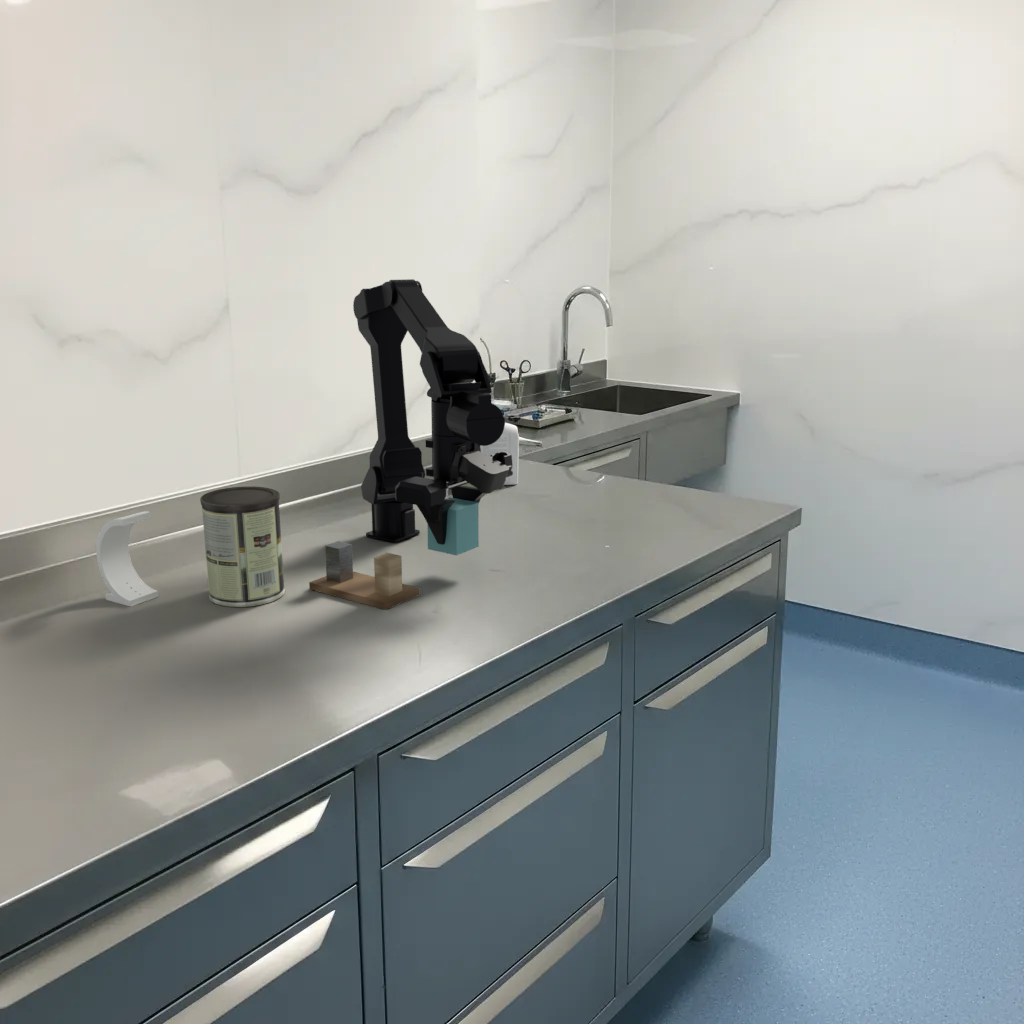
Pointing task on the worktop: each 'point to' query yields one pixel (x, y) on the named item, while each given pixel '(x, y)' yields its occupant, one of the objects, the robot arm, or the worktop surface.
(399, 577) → the maple post
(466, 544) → the turquoise upright block
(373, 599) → the walnut strip
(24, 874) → the worktop surface
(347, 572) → the dark metal post
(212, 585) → the coffee can
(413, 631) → the worktop surface
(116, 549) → the headphone stand
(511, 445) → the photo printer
